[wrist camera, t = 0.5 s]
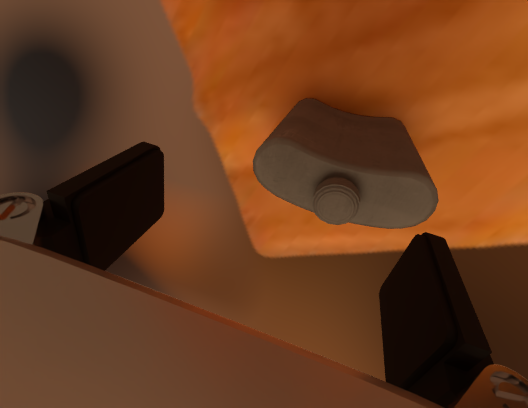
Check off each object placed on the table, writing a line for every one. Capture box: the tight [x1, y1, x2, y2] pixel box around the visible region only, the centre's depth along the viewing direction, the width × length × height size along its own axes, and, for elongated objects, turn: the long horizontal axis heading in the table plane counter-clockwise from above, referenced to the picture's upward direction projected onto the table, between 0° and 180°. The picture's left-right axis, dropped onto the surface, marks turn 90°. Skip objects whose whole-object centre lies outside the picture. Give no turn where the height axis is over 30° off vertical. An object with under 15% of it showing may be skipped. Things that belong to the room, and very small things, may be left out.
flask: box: [253, 98, 438, 229], centre depth 29 cm, size 15×6×20 cm, turn 80°
